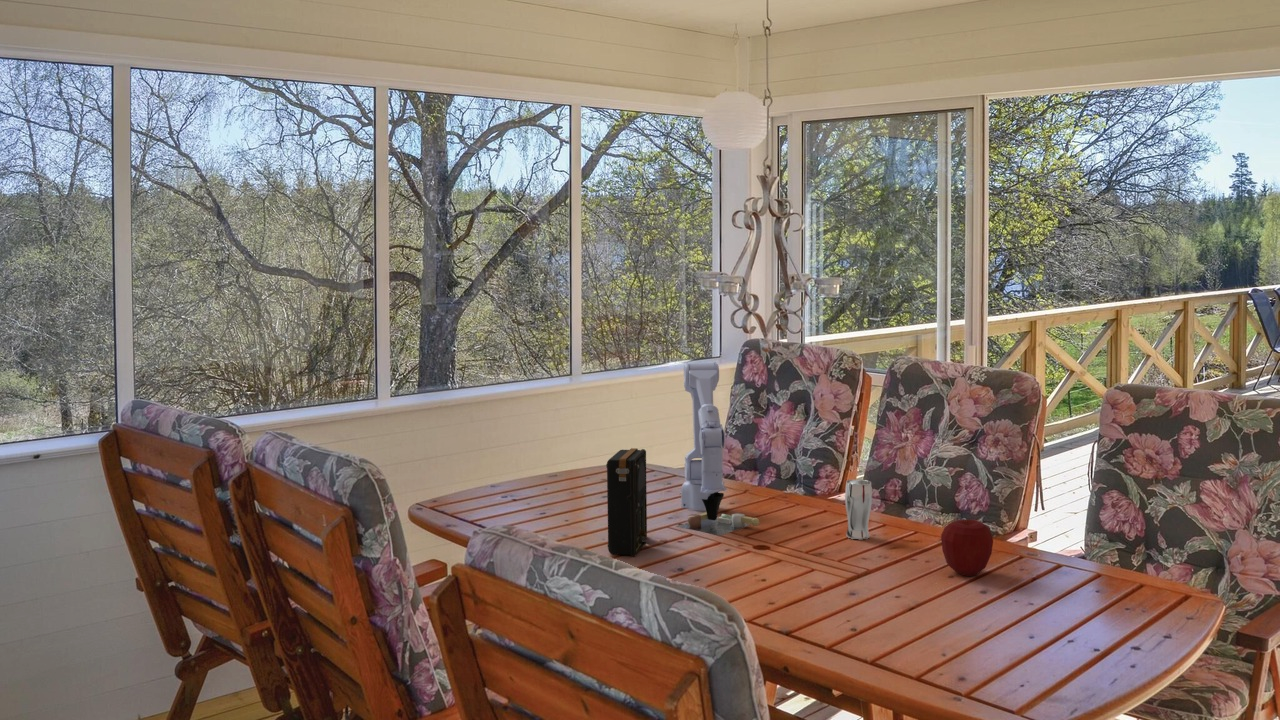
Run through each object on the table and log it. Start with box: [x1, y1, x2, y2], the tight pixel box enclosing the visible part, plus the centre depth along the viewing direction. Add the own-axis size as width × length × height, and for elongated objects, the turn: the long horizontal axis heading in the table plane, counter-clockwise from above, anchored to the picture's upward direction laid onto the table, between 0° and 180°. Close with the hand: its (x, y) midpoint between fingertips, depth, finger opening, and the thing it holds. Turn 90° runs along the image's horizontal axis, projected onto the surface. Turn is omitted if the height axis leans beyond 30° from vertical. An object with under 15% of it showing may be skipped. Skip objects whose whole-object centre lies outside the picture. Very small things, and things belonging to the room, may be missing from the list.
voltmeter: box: [606, 447, 648, 557], centre depth 263 cm, size 16×9×25 cm, turn 168°
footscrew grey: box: [731, 513, 760, 529], centre depth 279 cm, size 9×4×3 cm, turn 45°
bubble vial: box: [717, 513, 732, 524], centre depth 285 cm, size 4×2×2 cm, turn 49°
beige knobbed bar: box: [687, 511, 708, 528], centre depth 282 cm, size 9×4×3 cm, turn 131°
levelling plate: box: [675, 517, 750, 537], centre depth 281 cm, size 15×14×1 cm
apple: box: [940, 517, 994, 577], centre depth 240 cm, size 12×12×13 cm
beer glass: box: [844, 478, 873, 541], centre depth 272 cm, size 7×7×15 cm
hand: (712, 519), depth 282 cm, fingers closed
